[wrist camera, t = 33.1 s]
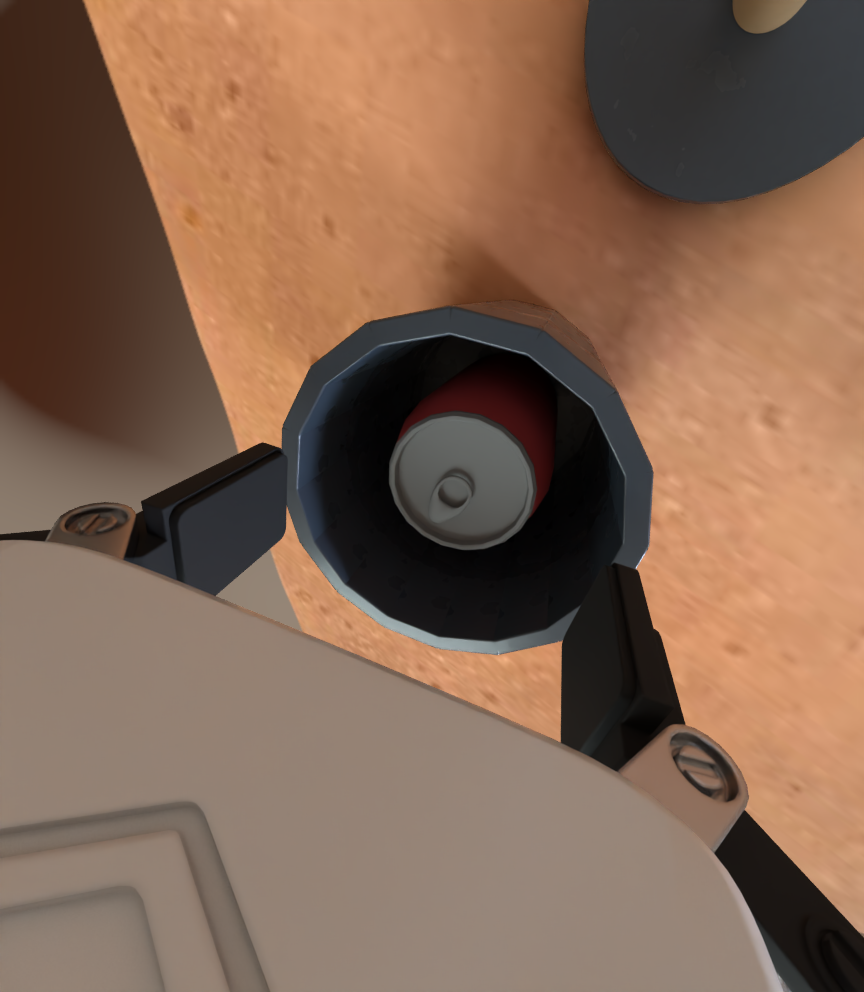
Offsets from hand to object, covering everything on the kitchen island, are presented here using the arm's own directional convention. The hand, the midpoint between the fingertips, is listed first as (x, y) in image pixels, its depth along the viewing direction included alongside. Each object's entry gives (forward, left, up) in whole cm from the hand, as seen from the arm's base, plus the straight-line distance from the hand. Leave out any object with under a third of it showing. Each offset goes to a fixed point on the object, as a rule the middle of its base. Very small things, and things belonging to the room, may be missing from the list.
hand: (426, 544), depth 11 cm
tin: (0, 0, -16) cm, 16 cm away
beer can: (0, 0, -16) cm, 16 cm away
